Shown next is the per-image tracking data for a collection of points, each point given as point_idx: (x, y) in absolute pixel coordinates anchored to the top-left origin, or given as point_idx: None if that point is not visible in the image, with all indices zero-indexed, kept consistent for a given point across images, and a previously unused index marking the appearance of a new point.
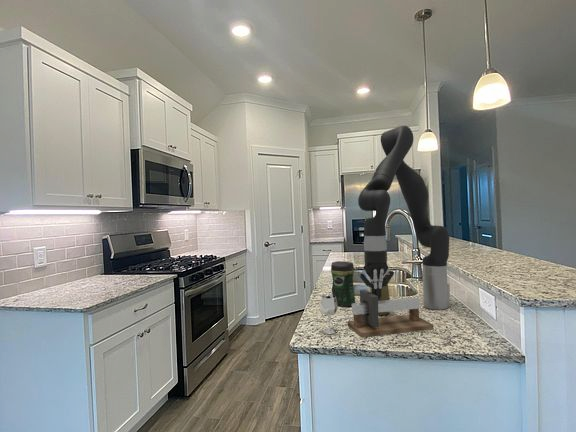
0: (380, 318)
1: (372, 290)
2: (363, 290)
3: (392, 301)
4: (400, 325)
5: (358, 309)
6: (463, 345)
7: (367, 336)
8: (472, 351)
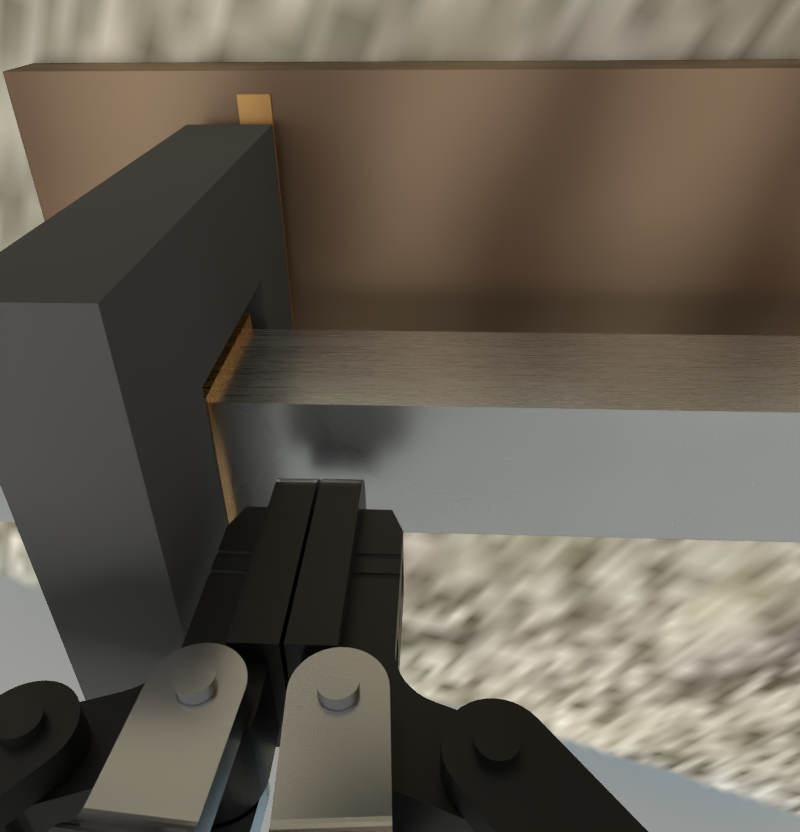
0: (517, 111)
1: (200, 637)
2: (32, 382)
3: (627, 497)
4: None
5: None
6: (788, 722)
7: None
8: (752, 777)
